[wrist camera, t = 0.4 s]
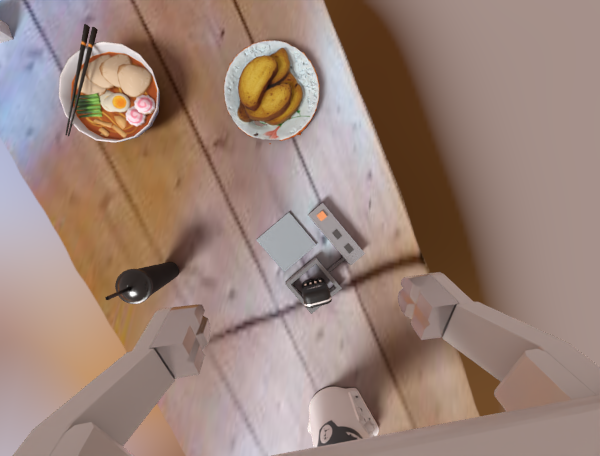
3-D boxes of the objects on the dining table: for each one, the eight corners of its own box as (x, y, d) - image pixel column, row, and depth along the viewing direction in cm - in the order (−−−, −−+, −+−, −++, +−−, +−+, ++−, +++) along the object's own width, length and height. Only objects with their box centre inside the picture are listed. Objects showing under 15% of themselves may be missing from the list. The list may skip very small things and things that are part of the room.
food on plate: (320, 140, 59) (323, 131, 52) (231, 146, 58) (222, 138, 51) (314, 45, 57) (316, 22, 50) (221, 50, 56) (212, 28, 50)
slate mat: (316, 244, 60) (316, 244, 59) (284, 271, 60) (284, 272, 59) (289, 212, 59) (289, 212, 58) (256, 239, 59) (256, 239, 59)
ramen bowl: (162, 166, 57) (140, 158, 49) (78, 140, 56) (41, 127, 48) (187, 76, 56) (169, 53, 48) (102, 47, 55) (69, 18, 47)
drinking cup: (189, 267, 59) (136, 293, 39) (174, 289, 59) (113, 326, 39) (166, 251, 59) (101, 269, 39) (151, 273, 59) (77, 303, 39)
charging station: (369, 260, 61) (373, 263, 57) (310, 309, 61) (311, 315, 57) (321, 203, 59) (323, 202, 56) (261, 253, 59) (259, 256, 56)
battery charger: (323, 274, 60) (330, 287, 49) (326, 286, 61) (333, 303, 49) (299, 280, 60) (300, 295, 49) (302, 292, 60) (304, 310, 49)
